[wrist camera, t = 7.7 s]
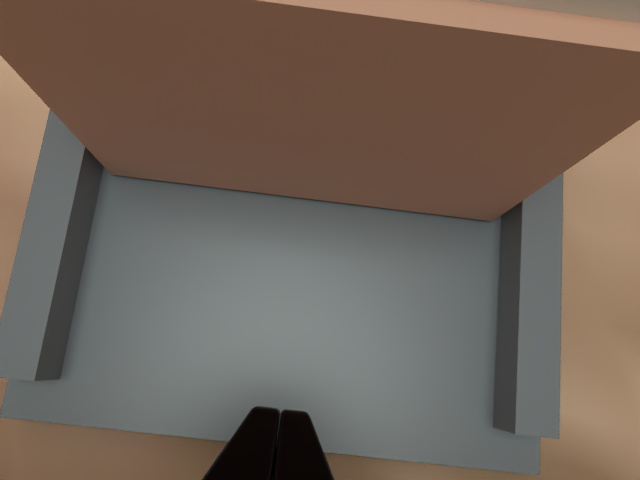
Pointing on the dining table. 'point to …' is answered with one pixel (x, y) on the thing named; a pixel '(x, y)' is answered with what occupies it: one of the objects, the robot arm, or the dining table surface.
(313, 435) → the robot arm
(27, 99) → the dining table surface
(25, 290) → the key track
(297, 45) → the terracotta key block
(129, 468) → the dining table surface
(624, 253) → the dining table surface
